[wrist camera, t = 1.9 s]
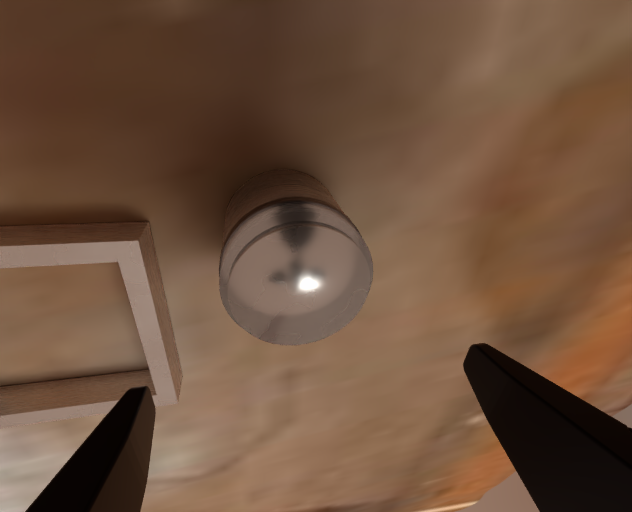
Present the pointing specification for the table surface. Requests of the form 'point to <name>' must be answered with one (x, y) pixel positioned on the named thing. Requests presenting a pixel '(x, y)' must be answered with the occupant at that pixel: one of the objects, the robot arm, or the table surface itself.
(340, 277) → the piston
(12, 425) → the grey square frame
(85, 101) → the table surface
